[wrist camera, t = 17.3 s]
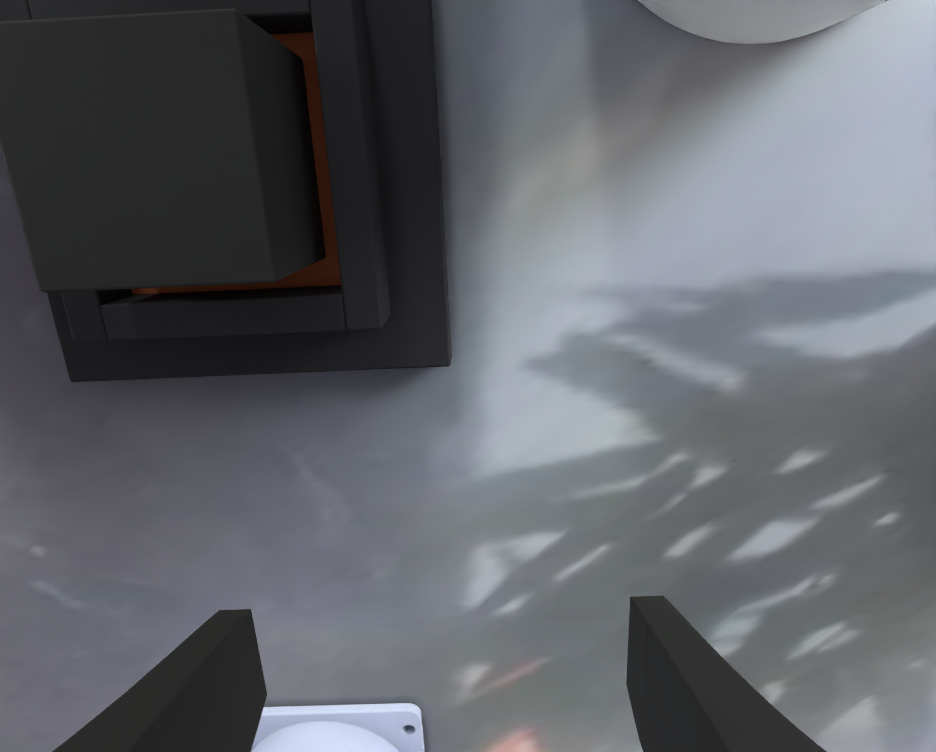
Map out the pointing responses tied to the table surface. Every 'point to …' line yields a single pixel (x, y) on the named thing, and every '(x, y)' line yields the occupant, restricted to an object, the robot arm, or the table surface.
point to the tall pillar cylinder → (755, 17)
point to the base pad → (342, 212)
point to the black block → (158, 150)
